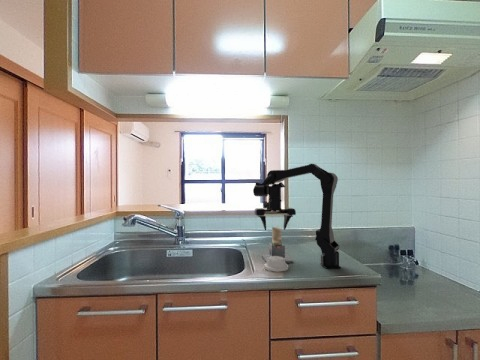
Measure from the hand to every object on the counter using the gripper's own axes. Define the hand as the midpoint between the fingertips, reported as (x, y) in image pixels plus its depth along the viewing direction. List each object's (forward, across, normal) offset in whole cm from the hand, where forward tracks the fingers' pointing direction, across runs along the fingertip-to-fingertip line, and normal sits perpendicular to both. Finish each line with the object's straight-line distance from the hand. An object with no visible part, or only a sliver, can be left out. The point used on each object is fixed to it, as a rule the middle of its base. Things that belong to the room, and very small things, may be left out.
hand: (274, 229), depth 129 cm
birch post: (+9, 0, +3) cm, 9 cm away
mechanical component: (+14, +3, +15) cm, 20 cm away
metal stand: (+13, 0, +3) cm, 13 cm away
